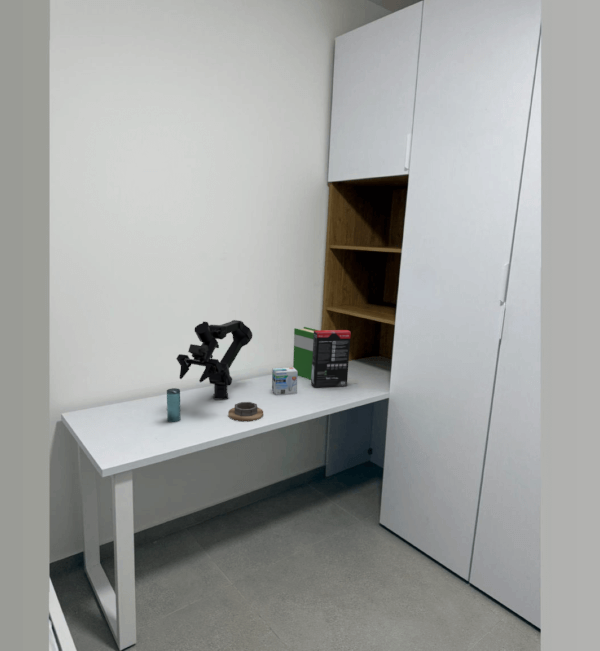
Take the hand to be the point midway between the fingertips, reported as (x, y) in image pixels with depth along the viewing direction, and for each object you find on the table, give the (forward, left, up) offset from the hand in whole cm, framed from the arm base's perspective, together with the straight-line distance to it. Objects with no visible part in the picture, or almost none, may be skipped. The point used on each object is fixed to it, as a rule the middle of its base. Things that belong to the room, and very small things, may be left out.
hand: (190, 380), depth 198 cm
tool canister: (+5, -6, -15) cm, 16 cm away
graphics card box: (-33, +64, -15) cm, 74 cm away
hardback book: (-48, +57, -15) cm, 76 cm away
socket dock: (+2, +22, -15) cm, 26 cm away
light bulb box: (-25, +41, -15) cm, 50 cm away
